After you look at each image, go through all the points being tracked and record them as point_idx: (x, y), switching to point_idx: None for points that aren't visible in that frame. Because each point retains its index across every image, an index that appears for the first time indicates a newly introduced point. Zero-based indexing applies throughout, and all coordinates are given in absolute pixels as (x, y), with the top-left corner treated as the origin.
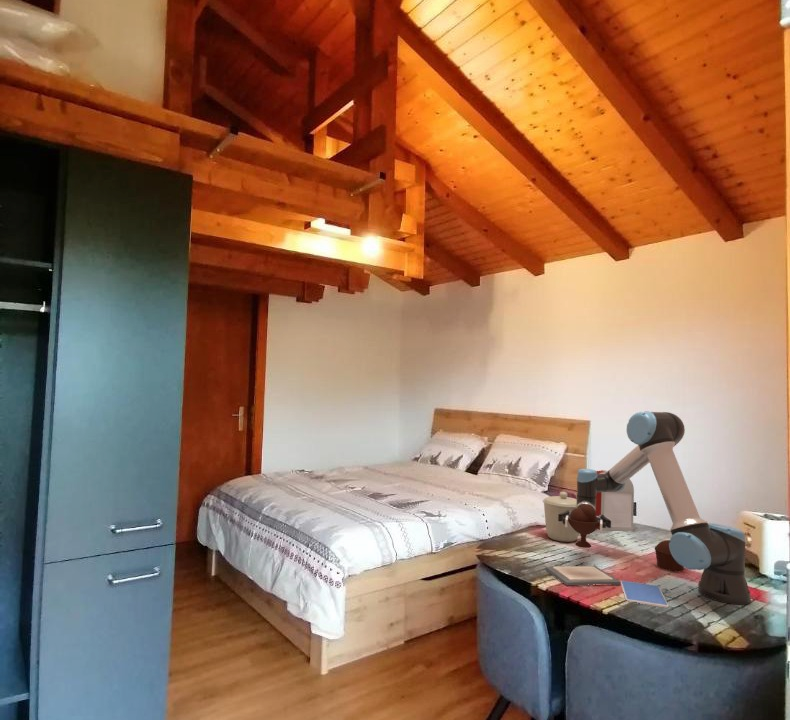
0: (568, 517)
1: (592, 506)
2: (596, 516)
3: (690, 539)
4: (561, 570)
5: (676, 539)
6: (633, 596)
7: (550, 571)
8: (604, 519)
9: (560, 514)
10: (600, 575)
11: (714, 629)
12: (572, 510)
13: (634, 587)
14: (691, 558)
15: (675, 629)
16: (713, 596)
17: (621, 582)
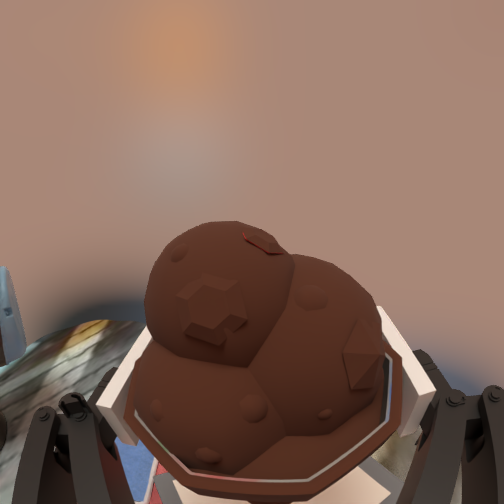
0: (388, 345)
1: (169, 243)
2: (143, 356)
3: (8, 271)
4: (352, 477)
5: (9, 291)
6: None
7: (386, 471)
8: (78, 398)
9: (489, 391)
10: (210, 497)
11: (88, 341)
12: (365, 291)
13: (124, 457)
14: (19, 315)
15: (141, 330)
16: (2, 416)
17: (148, 488)
